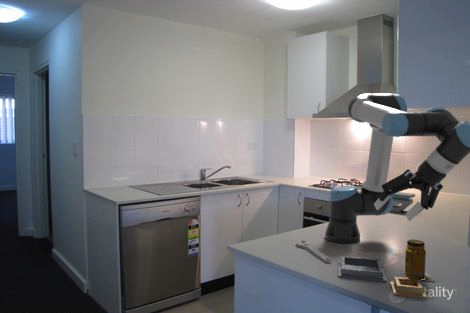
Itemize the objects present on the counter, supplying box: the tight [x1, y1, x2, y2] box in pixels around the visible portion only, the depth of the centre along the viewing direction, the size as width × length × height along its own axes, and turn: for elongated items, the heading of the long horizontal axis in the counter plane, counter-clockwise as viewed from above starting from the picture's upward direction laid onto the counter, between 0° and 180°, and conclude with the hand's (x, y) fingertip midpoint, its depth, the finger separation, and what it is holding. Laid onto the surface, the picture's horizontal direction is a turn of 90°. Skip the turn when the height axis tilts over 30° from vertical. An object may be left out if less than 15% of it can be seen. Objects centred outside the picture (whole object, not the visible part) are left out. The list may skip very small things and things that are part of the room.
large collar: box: [337, 255, 388, 283], centre depth 130 cm, size 15×15×3 cm
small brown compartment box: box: [389, 276, 428, 300], centre depth 115 cm, size 9×9×3 cm
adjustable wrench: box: [296, 239, 333, 264], centre depth 150 cm, size 25×6×2 cm, turn 11°
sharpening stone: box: [389, 191, 416, 213], centre depth 227 cm, size 25×8×11 cm, turn 45°
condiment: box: [401, 239, 435, 282], centre depth 125 cm, size 7×8×12 cm
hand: (391, 212), depth 126 cm, fingers open, 13 cm apart
